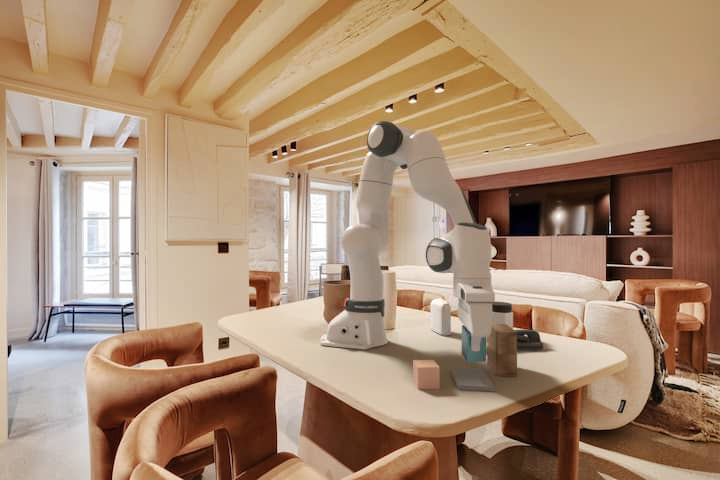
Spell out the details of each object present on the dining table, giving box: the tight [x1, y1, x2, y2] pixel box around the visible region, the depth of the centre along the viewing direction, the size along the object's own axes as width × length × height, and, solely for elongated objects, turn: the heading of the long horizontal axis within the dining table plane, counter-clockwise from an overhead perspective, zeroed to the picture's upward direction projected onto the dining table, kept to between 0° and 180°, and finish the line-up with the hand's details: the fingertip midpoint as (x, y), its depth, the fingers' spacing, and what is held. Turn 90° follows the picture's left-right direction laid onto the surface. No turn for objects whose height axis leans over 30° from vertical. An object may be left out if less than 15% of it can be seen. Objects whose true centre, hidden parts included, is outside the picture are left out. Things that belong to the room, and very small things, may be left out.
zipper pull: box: [461, 324, 544, 352], centre depth 114 cm, size 9×7×25 cm
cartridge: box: [460, 326, 487, 363], centre depth 86 cm, size 4×4×7 cm
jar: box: [491, 301, 514, 330], centre depth 126 cm, size 9×8×12 cm
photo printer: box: [430, 298, 452, 337], centre depth 132 cm, size 10×4×12 cm, turn 14°
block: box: [412, 359, 441, 390], centre depth 83 cm, size 5×5×5 cm
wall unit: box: [486, 324, 518, 377], centre depth 94 cm, size 5×10×11 cm, turn 174°
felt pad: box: [449, 366, 495, 392], centre depth 86 cm, size 8×12×1 cm, turn 174°
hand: (472, 346), depth 86 cm, fingers closed on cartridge, 5 cm apart
